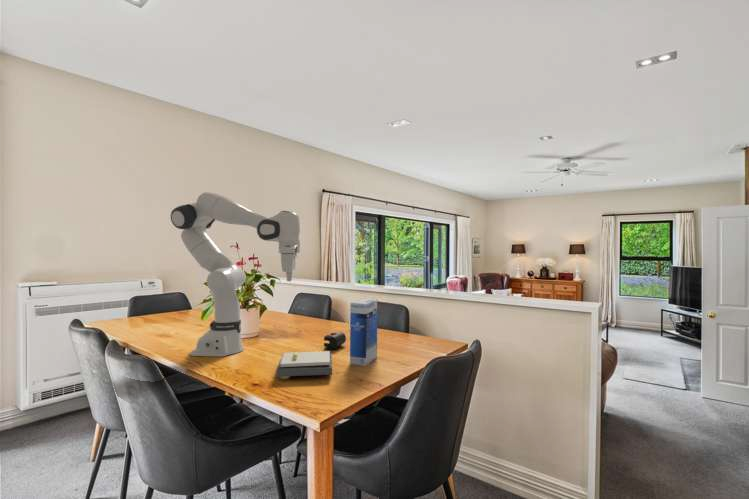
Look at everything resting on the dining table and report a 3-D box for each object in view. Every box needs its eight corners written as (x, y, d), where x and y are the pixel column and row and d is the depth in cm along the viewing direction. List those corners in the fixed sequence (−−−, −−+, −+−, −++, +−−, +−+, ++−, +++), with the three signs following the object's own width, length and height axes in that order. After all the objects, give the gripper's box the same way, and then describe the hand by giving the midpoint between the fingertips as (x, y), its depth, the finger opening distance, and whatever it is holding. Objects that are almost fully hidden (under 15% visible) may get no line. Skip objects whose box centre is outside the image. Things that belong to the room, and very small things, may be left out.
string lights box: (362, 355, 165) (362, 298, 165) (378, 357, 162) (378, 299, 162) (349, 364, 153) (349, 302, 153) (366, 366, 150) (366, 303, 150)
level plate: (278, 367, 135) (278, 359, 135) (282, 356, 149) (282, 349, 148) (329, 364, 137) (329, 357, 137) (329, 353, 151) (329, 347, 151)
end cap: (336, 351, 172) (336, 336, 172) (323, 349, 175) (323, 335, 175) (346, 346, 181) (346, 332, 181) (333, 344, 184) (333, 331, 184)
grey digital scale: (276, 382, 133) (276, 369, 133) (282, 366, 150) (282, 355, 150) (332, 379, 135) (332, 367, 135) (331, 364, 153) (331, 353, 153)
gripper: (284, 248, 167) (284, 279, 167) (278, 248, 147) (278, 283, 147) (298, 248, 168) (298, 278, 168) (294, 249, 148) (294, 283, 148)
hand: (289, 281), depth 157 cm, fingers closed
